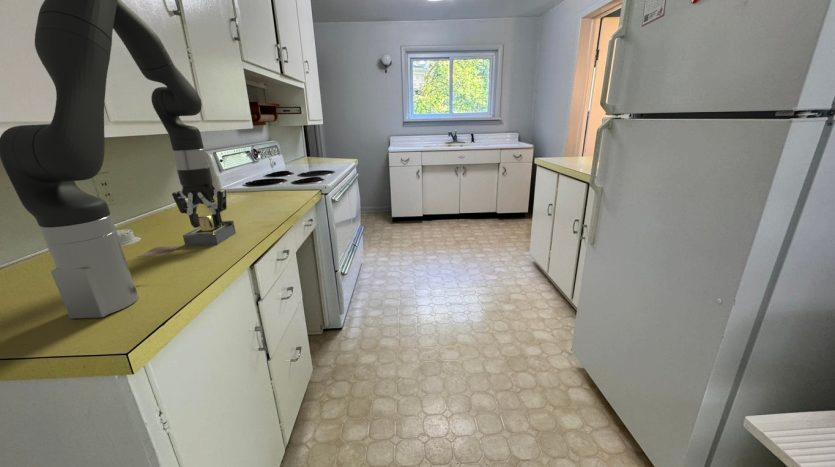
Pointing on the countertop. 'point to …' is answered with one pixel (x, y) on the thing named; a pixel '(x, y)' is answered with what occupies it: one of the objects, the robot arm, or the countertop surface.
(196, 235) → the grey square frame
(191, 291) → the countertop surface
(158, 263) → the countertop surface
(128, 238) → the mechanical component
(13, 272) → the countertop surface
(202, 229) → the translucent brown rounded cylinder
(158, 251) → the brown square panel
